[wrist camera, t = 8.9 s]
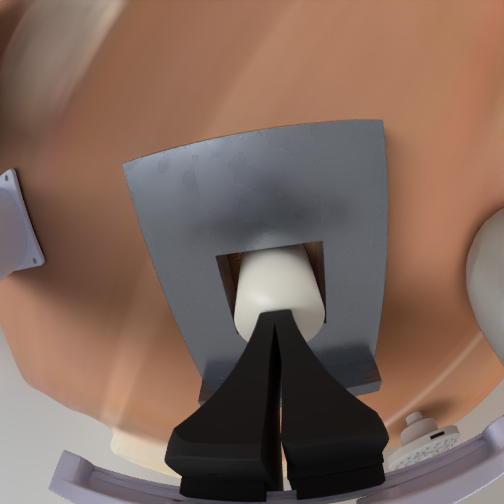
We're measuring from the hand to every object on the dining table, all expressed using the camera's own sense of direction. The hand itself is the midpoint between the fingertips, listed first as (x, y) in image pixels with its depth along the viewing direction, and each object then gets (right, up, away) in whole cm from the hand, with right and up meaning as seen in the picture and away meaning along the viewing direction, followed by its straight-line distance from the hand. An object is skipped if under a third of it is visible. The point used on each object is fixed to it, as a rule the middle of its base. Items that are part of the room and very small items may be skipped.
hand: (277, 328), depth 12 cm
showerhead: (+19, -18, +14) cm, 30 cm away
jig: (0, +2, +5) cm, 5 cm away
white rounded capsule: (0, +3, +5) cm, 5 cm away
